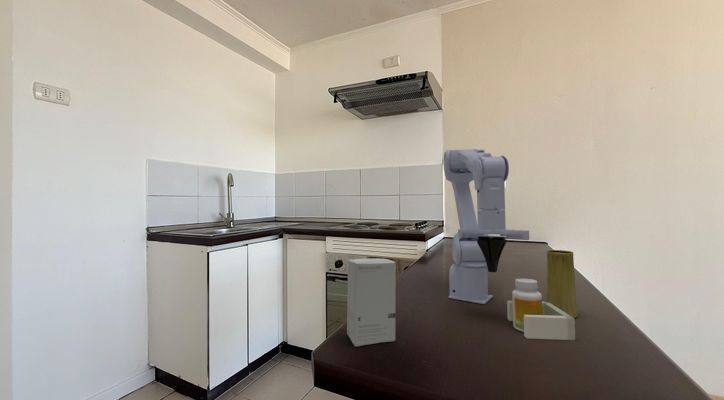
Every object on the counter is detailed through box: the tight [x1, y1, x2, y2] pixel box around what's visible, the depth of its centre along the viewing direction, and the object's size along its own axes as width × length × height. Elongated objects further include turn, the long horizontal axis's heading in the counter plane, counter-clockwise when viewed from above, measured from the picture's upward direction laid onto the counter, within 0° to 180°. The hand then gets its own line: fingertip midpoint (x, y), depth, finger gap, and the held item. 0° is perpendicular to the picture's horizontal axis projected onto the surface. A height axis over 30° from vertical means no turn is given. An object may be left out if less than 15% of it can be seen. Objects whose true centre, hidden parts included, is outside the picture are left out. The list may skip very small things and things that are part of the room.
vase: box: [546, 249, 579, 319], centre depth 69 cm, size 6×6×14 cm
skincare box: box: [346, 257, 397, 348], centre depth 57 cm, size 8×6×15 cm
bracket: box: [506, 300, 576, 341], centre depth 60 cm, size 8×10×4 cm
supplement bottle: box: [511, 277, 543, 333], centre depth 60 cm, size 5×5×10 cm
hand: (492, 271), depth 66 cm, fingers closed
